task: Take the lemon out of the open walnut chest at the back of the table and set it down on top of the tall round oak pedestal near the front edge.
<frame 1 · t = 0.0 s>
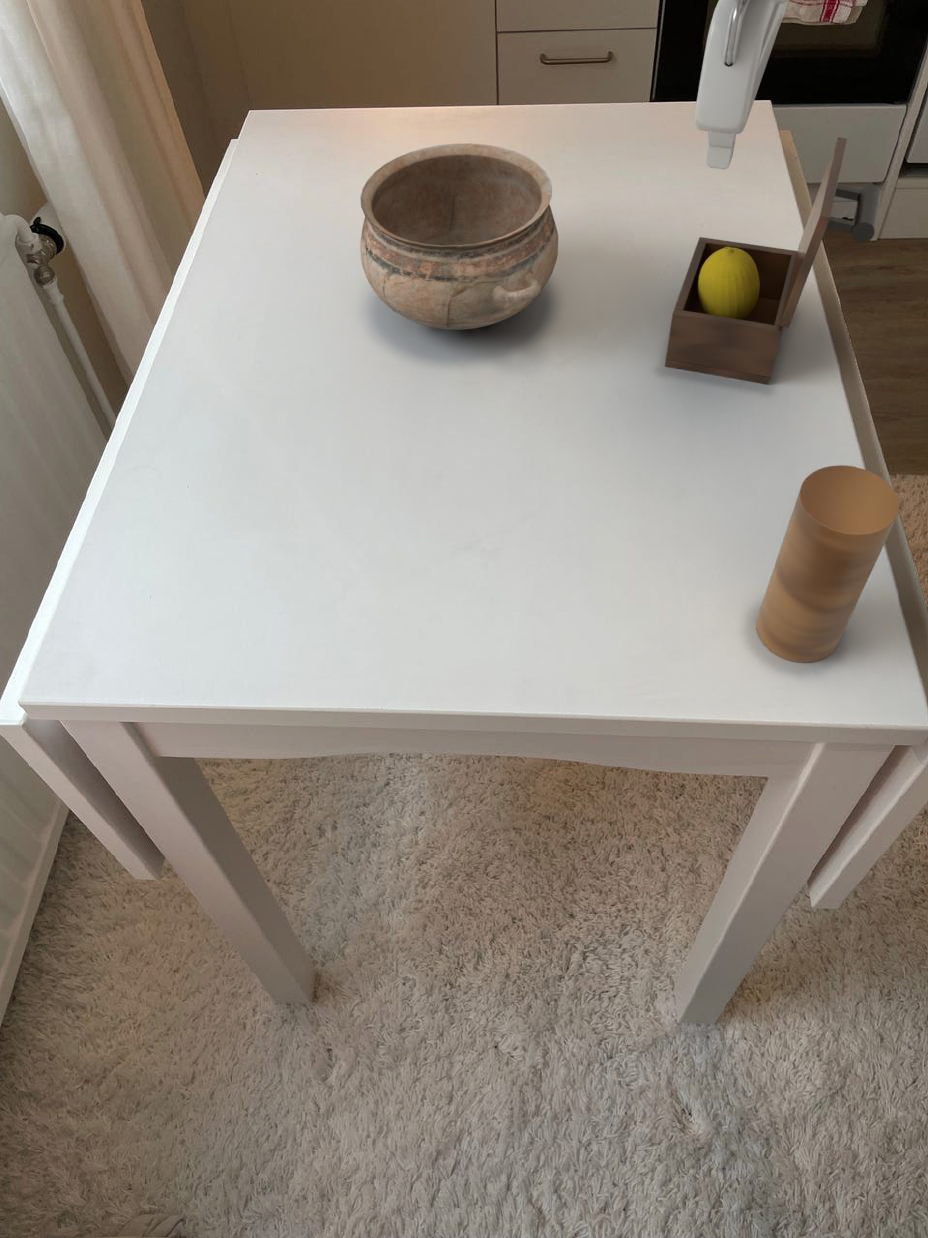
hand: (729, 134, 77), 19 cm above the table, tool pointing down, fingers open, 8 cm apart
cooking pot: (462, 308, 97), on the table
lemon: (729, 326, 91), point 1 cm above the table, touching chest
chest: (727, 334, 92), on the table
lid: (836, 238, 81), point 11 cm above the table, hinge at 95.0°
stand: (797, 629, 71), on the table
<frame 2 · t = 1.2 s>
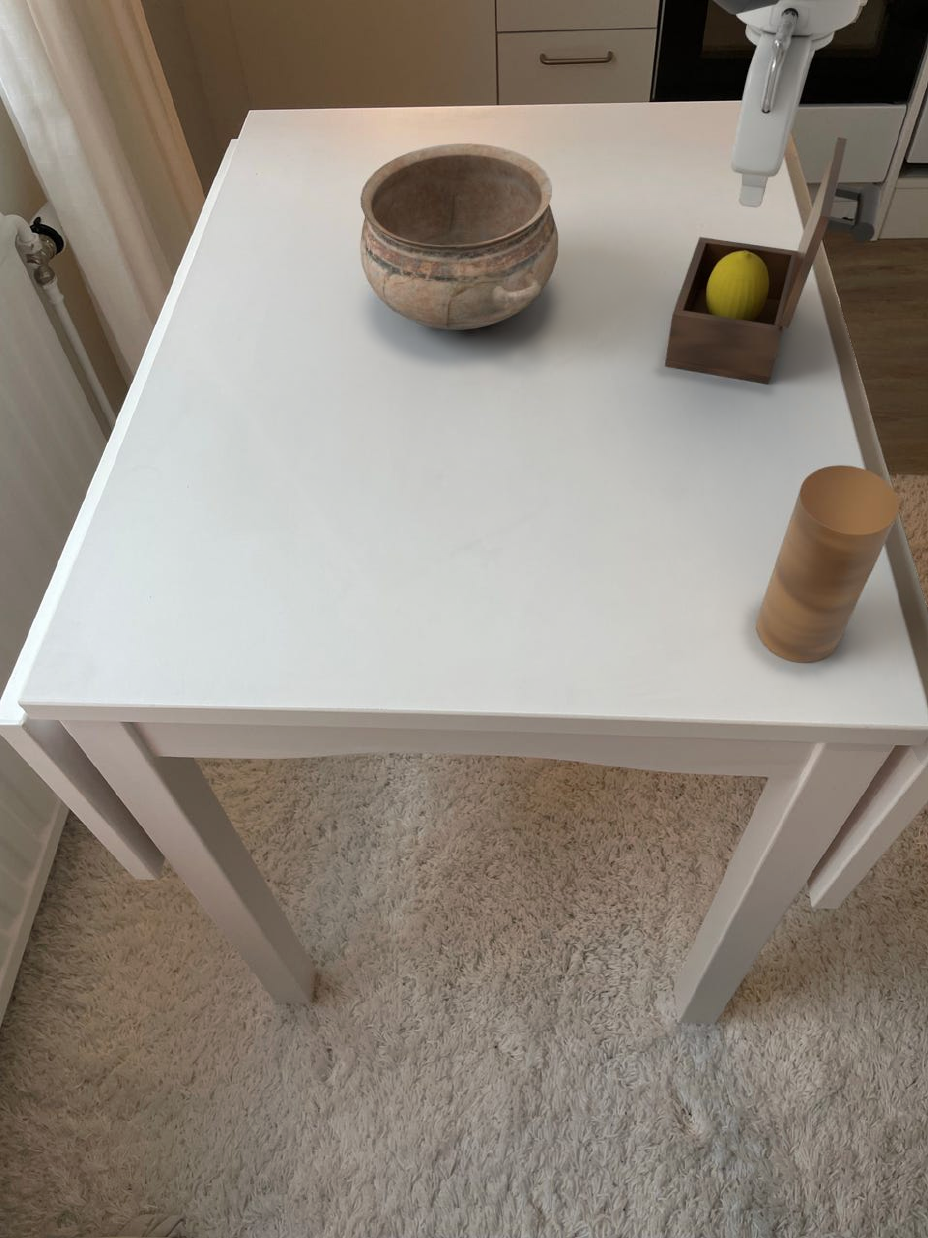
hand: (759, 171, 79), 16 cm above the table, tool pointing down, fingers open, 8 cm apart
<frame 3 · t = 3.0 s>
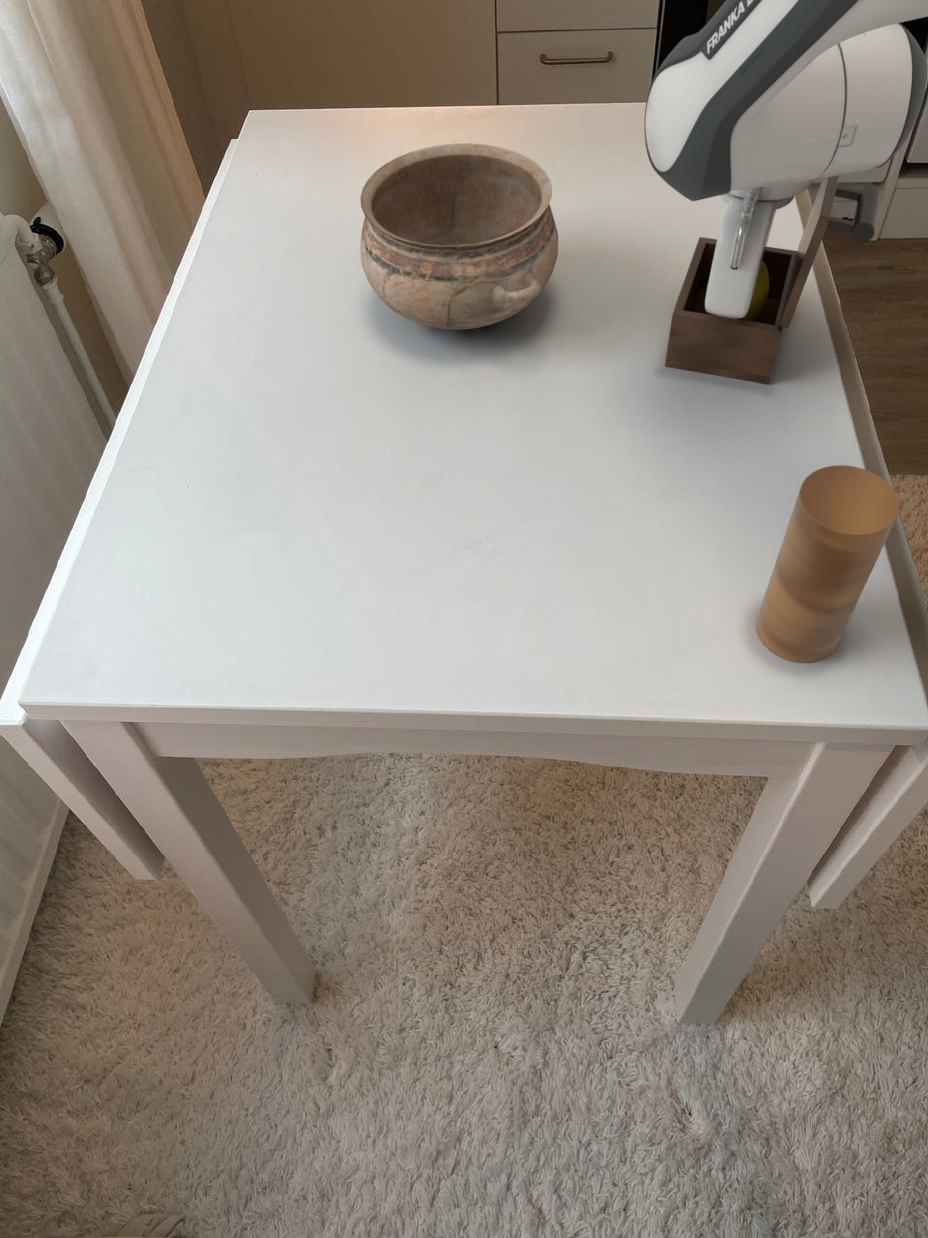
hand: (733, 298, 89), 4 cm above the table, tool pointing down, fingers closed on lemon, 4 cm apart
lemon: (728, 329, 91), point 1 cm above the table, touching chest, gripper
everything else where it was.
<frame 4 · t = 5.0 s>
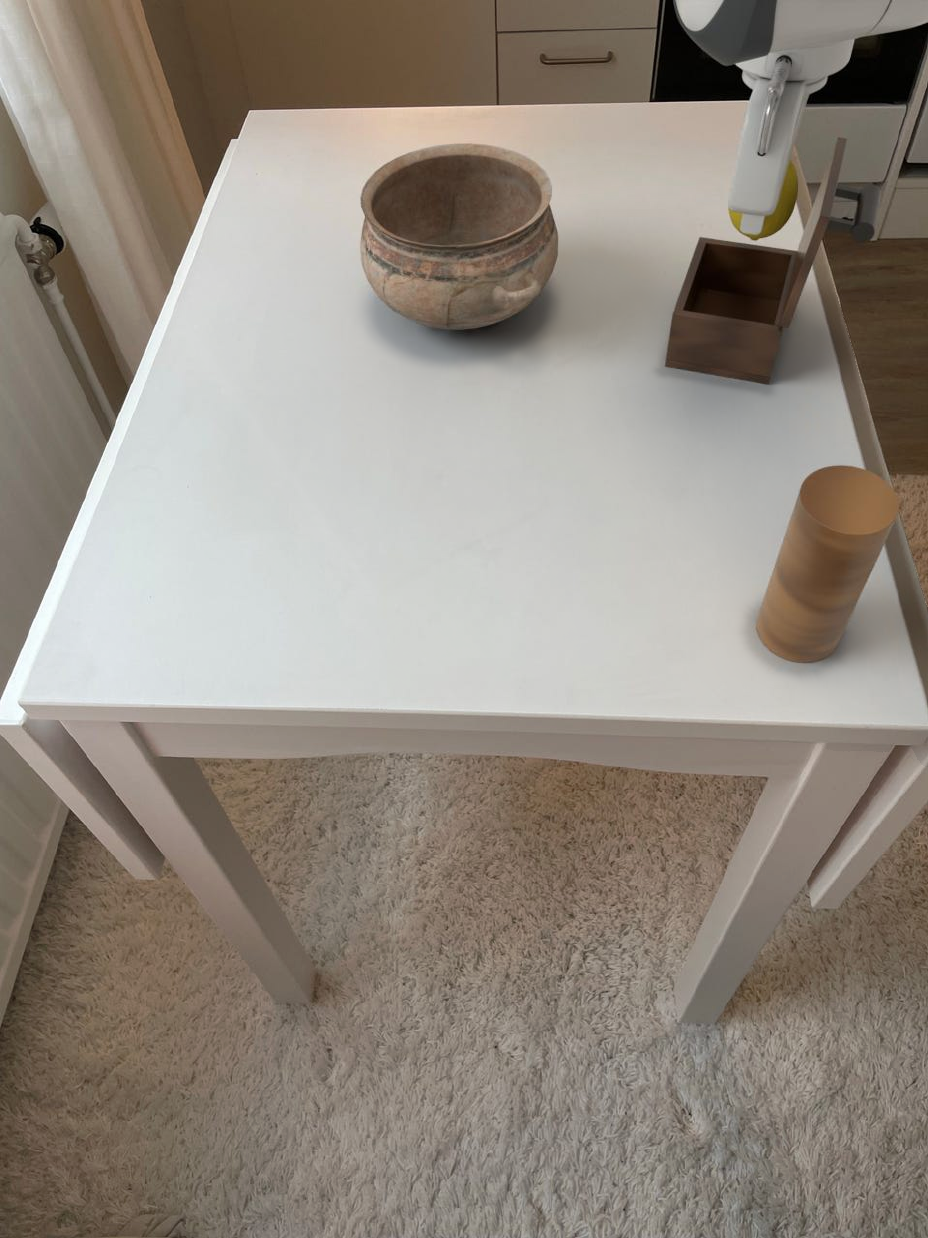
hand: (758, 207, 81), 13 cm above the table, tool pointing down, fingers closed on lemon, 5 cm apart
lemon: (753, 241, 84), point 10 cm above the table, touching gripper
everything else where it was.
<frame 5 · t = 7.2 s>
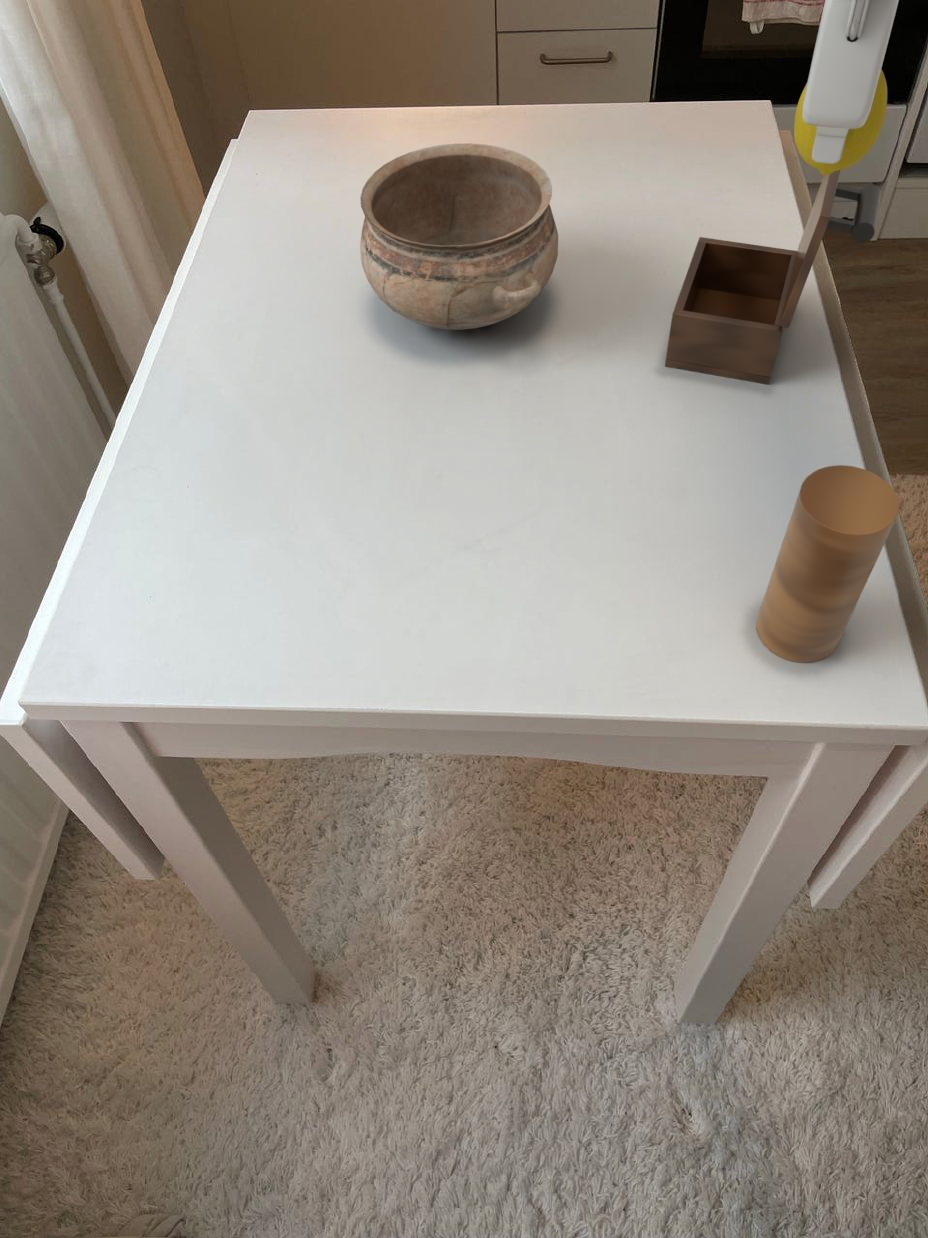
hand: (832, 131, 63), 26 cm above the table, tool pointing down, fingers closed on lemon, 5 cm apart
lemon: (824, 176, 66), point 23 cm above the table, touching gripper
everything else where it was.
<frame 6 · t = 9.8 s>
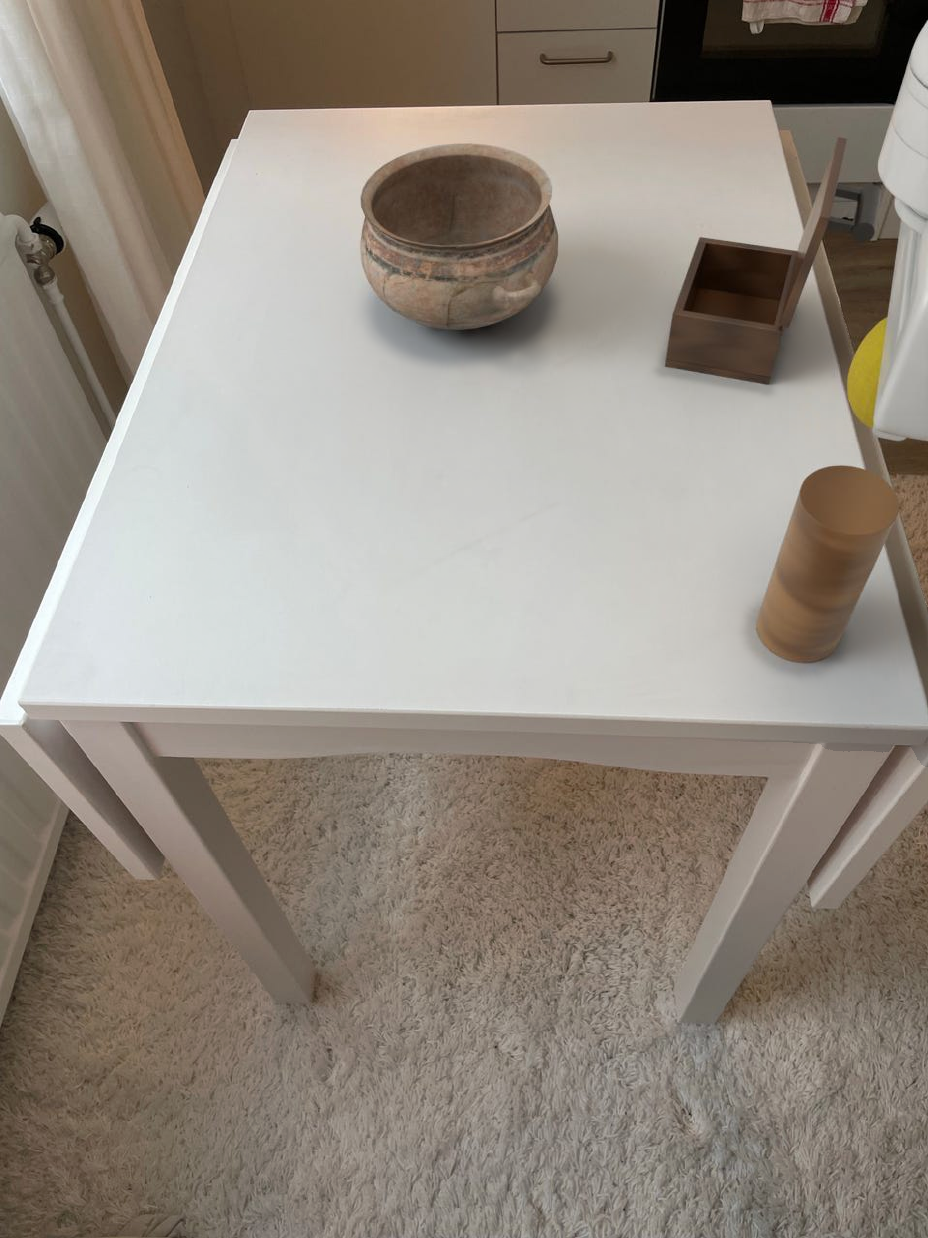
hand: (894, 389, 53), 23 cm above the table, tool pointing down, fingers closed on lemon, 5 cm apart
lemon: (880, 431, 55), point 20 cm above the table, touching gripper
everything else where it was.
when the fingers open (17 cm above the table, at t = 11.6 s): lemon stays where it is, resting on stand.
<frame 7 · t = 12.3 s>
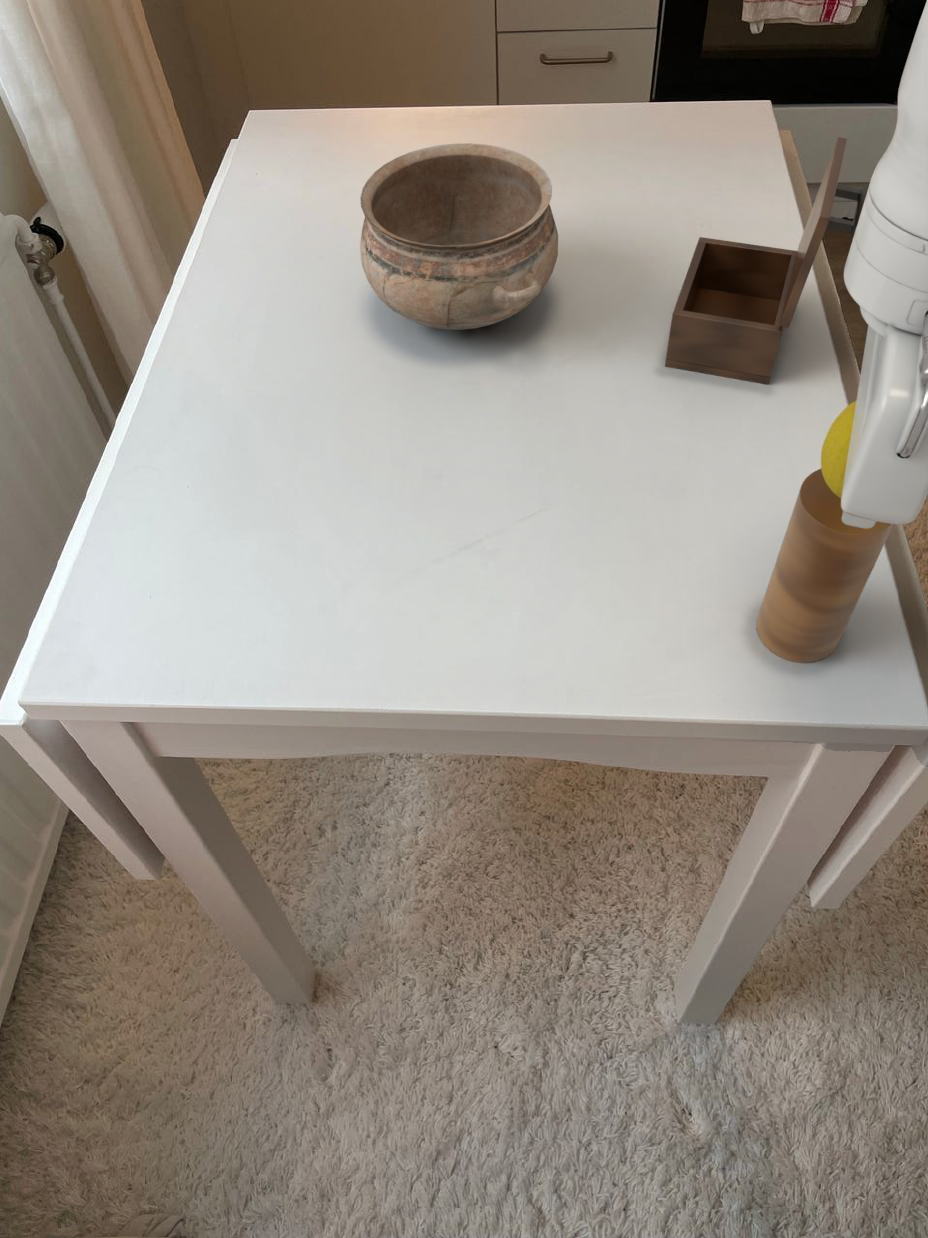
hand: (865, 462, 57), 17 cm above the table, tool pointing down, fingers open, 8 cm apart
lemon: (851, 500, 60), point 14 cm above the table, touching stand
everything else where it was.
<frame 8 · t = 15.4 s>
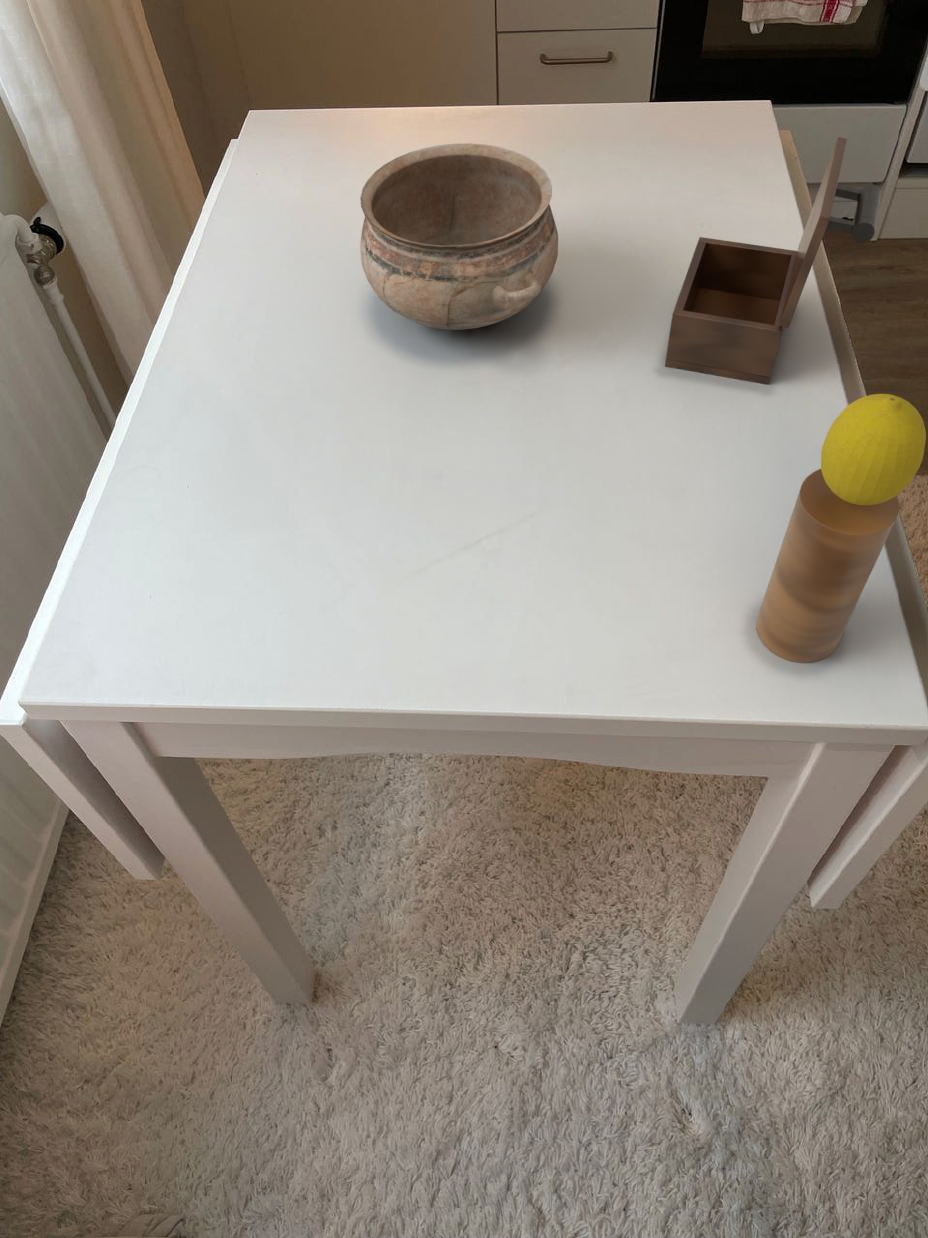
nothing on the table moved.
at the end: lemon 0.2 cm off-centre on the stand, point 13.8 cm above the stand's base; the gripper is holding nothing; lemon moved 37.8 cm from its start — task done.
